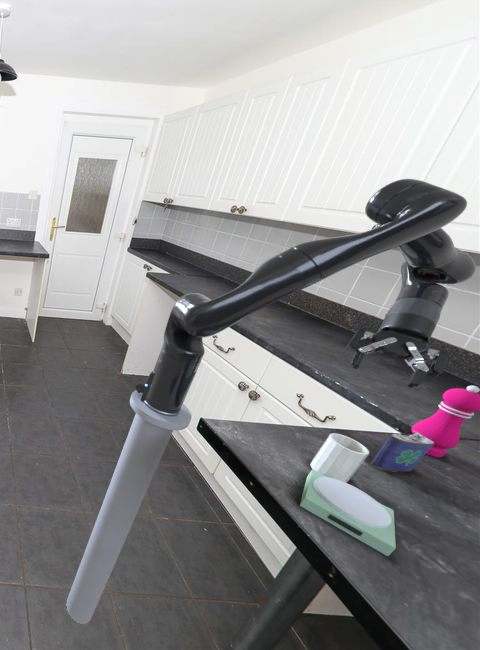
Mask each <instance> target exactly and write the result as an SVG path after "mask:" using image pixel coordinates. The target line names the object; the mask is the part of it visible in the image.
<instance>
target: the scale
mask: <svg viewBox="0 0 480 650" xmlns="http://www.w3.org/2000/svg"><path fill="white" fill-rule="evenodd" d="M299 507H301V508H303V509H305V510H306V511H308V512H310V513H312V514H313V515H315V516H317V517H318V518H320V519H321V520H323V521H325V522H327V523H328V524H331V525H332V526H333V527H336V528H338V529H339V530H341V531H343V532H345V533H346V534H348V535H350V536H351V537H353V538H355V539H357V540H358V541H360V542H362V543H364V544H365V545H367V546H369V547H370V548H372V549H374V550H375V551H377V552H379V553H381V554H382V555H385V556H386V557H389V556H390V555H391V554H392V553H393V552H394V551H395V550H396V549H397V545H396V529H395V528H396V525H395V512H394V509H392V508H390V507H388V506H386V505H384V504H382V503H380V502H378V501H377V500H375V498H374V497H372V496H370V495H369V494H367V493H366V492H364V491H363V490H361V489H360V488H357V487H355V486H353V485H351V484H349V483H348V482H347V483H345V482H343V481H340V480H337V479H334V478H329V477H327V476H325V475H323V474H321V473H319V472H317V471H315V470H313V469H312V468H311V470H310V472H309V473H308V475H307V477H306V480H305V484H304V488H303V492H302V495H301V499H300V503H299Z"/></svg>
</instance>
